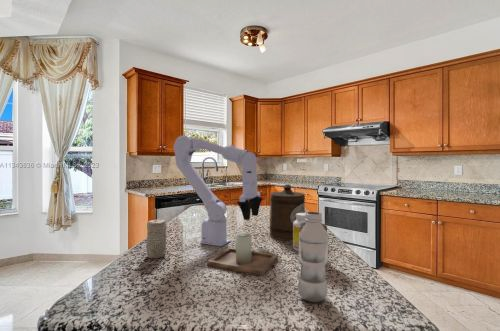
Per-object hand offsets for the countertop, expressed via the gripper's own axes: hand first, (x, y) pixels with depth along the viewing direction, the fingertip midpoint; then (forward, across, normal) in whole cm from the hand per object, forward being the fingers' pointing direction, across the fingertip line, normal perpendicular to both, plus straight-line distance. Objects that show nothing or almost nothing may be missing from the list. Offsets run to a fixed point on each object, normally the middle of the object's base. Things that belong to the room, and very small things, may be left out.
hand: (251, 217), depth 103 cm
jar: (+11, -10, -26) cm, 30 cm away
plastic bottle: (+11, -32, -30) cm, 45 cm away
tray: (+10, -19, -6) cm, 22 cm away
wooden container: (+11, +16, -9) cm, 21 cm away
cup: (+9, -19, -6) cm, 22 cm away
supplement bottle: (+11, +1, -20) cm, 22 cm away
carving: (+9, -27, +23) cm, 36 cm away
